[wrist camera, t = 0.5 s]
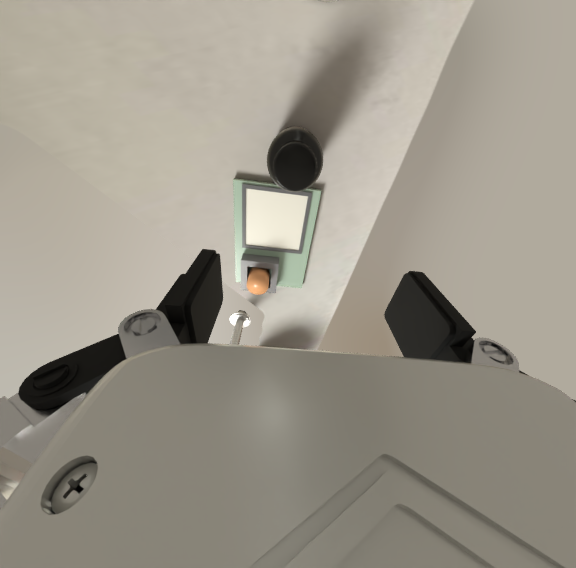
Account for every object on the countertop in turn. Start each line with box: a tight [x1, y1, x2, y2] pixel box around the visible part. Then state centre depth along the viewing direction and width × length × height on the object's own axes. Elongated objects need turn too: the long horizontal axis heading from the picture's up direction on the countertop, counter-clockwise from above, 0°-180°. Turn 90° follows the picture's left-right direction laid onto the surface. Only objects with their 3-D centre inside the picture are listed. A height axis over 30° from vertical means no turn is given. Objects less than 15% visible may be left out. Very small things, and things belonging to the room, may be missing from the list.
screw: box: [230, 310, 251, 345], centre depth 48 cm, size 13×5×5 cm
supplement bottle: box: [267, 126, 323, 192], centre depth 28 cm, size 7×7×12 cm
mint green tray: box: [233, 178, 321, 293], centre depth 40 cm, size 20×14×4 cm
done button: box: [247, 267, 270, 294], centre depth 42 cm, size 4×4×4 cm
